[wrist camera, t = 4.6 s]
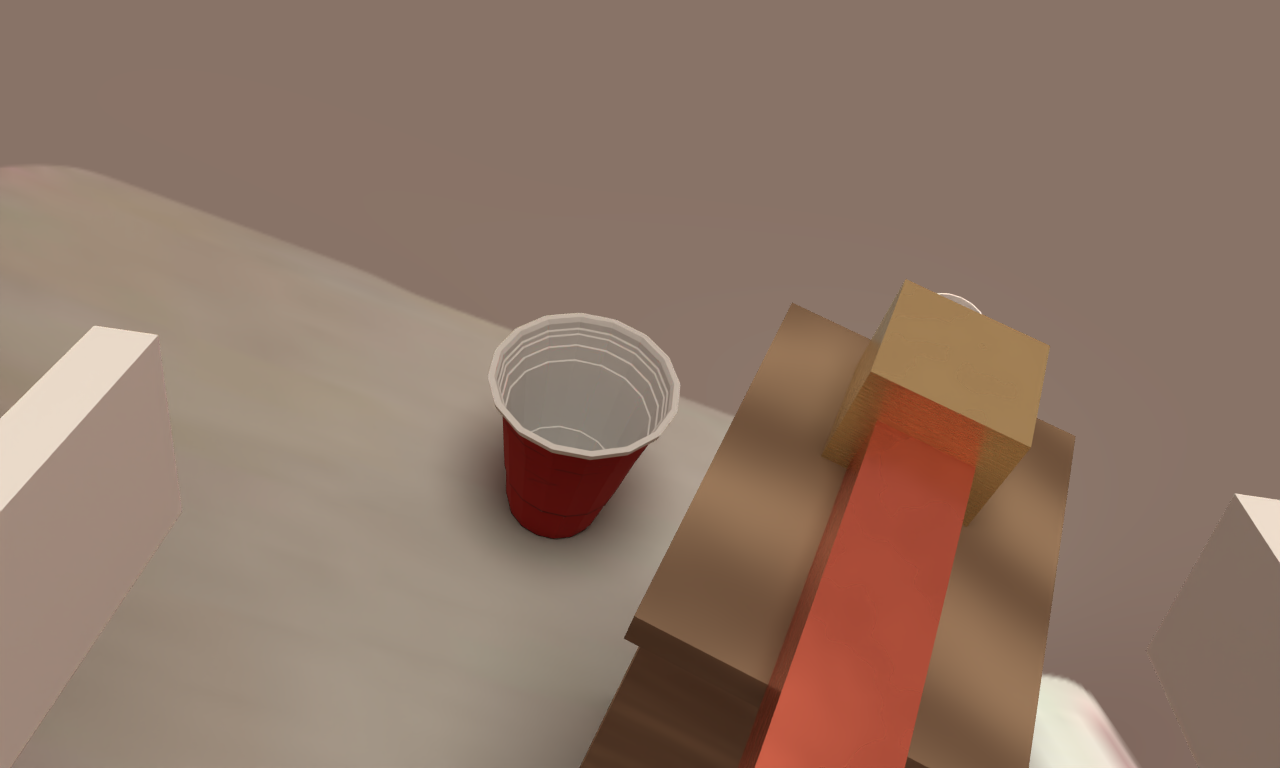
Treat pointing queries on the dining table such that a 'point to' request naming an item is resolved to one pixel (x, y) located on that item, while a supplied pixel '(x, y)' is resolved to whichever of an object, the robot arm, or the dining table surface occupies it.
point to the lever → (896, 529)
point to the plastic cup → (576, 414)
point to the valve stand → (780, 563)
